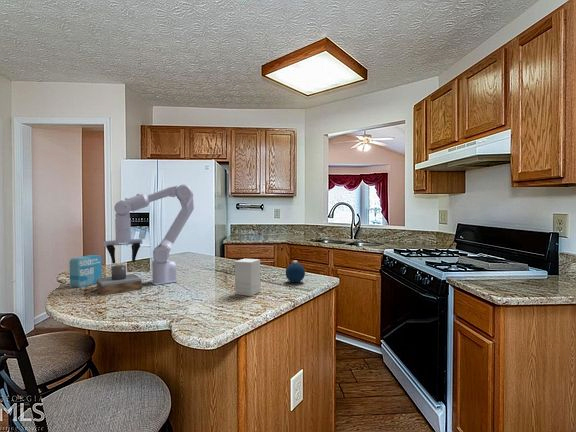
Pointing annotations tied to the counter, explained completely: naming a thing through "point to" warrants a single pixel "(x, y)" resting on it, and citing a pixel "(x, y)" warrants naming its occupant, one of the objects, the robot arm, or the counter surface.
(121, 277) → the dark grey rounded plug
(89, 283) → the data package
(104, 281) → the lid
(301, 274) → the christmas ornament
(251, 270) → the supplement box
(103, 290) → the box
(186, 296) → the counter surface
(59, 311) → the counter surface
